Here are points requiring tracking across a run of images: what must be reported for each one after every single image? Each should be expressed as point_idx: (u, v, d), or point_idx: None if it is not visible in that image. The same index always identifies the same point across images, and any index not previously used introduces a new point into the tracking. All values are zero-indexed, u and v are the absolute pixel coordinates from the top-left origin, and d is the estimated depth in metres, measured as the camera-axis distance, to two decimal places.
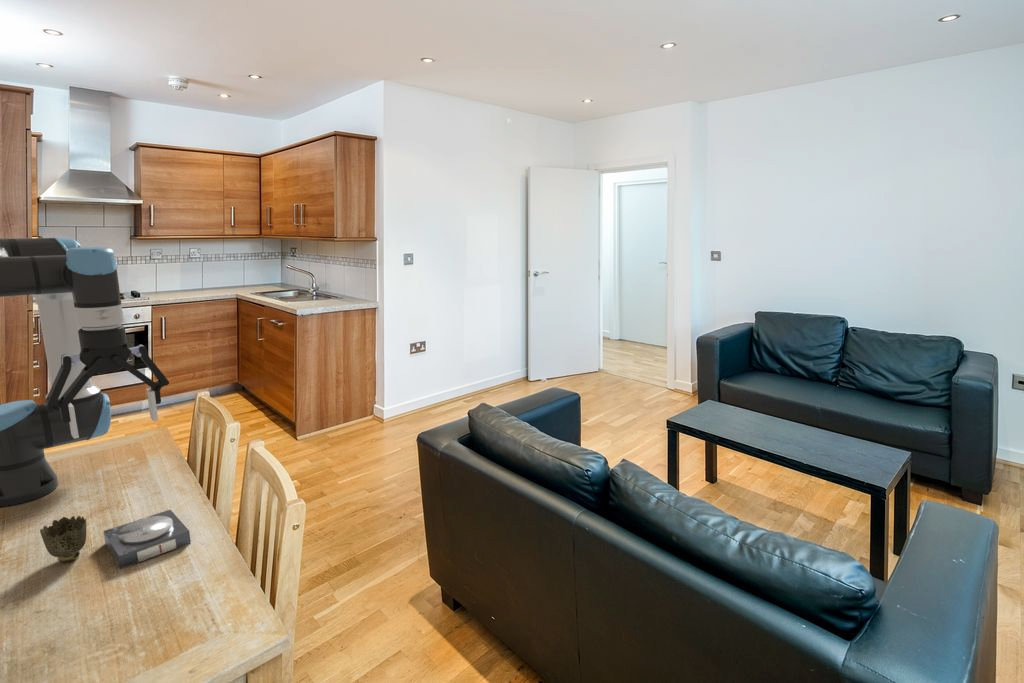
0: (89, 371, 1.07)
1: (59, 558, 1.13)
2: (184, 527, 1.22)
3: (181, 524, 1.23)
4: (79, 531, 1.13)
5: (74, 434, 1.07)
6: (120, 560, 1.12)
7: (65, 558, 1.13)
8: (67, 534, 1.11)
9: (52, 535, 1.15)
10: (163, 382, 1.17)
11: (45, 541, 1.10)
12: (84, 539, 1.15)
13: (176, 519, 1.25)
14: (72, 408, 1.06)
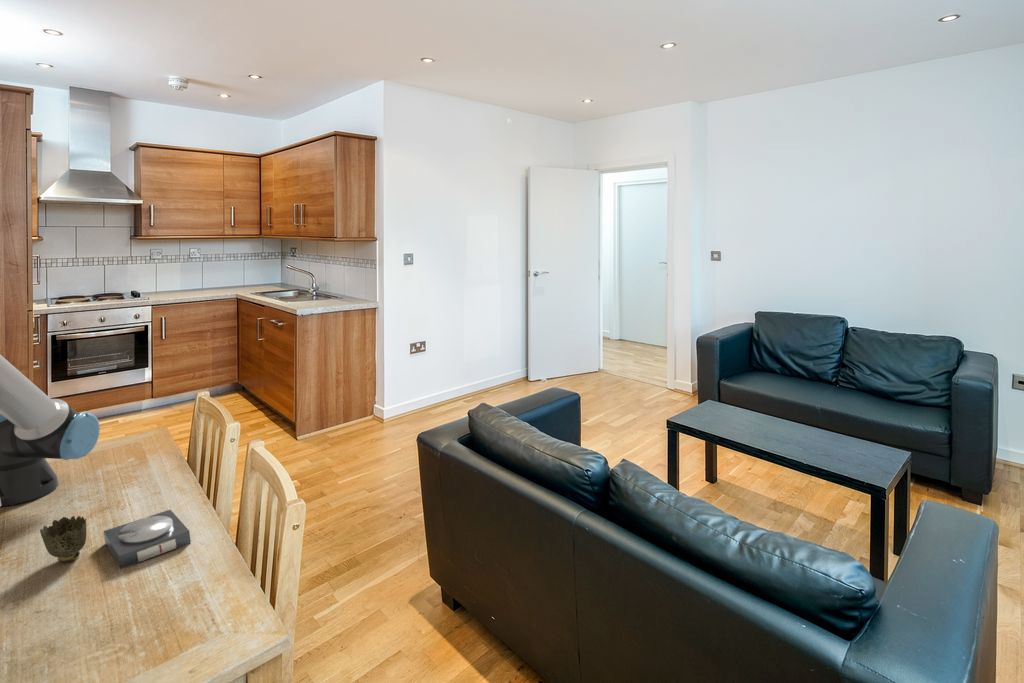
0: None
1: (59, 558, 1.13)
2: (184, 527, 1.22)
3: (181, 524, 1.23)
4: (79, 531, 1.13)
5: None
6: (120, 560, 1.12)
7: (65, 558, 1.13)
8: (67, 534, 1.11)
9: (52, 535, 1.15)
10: None
11: (45, 541, 1.10)
12: (84, 539, 1.15)
13: (176, 519, 1.25)
14: None
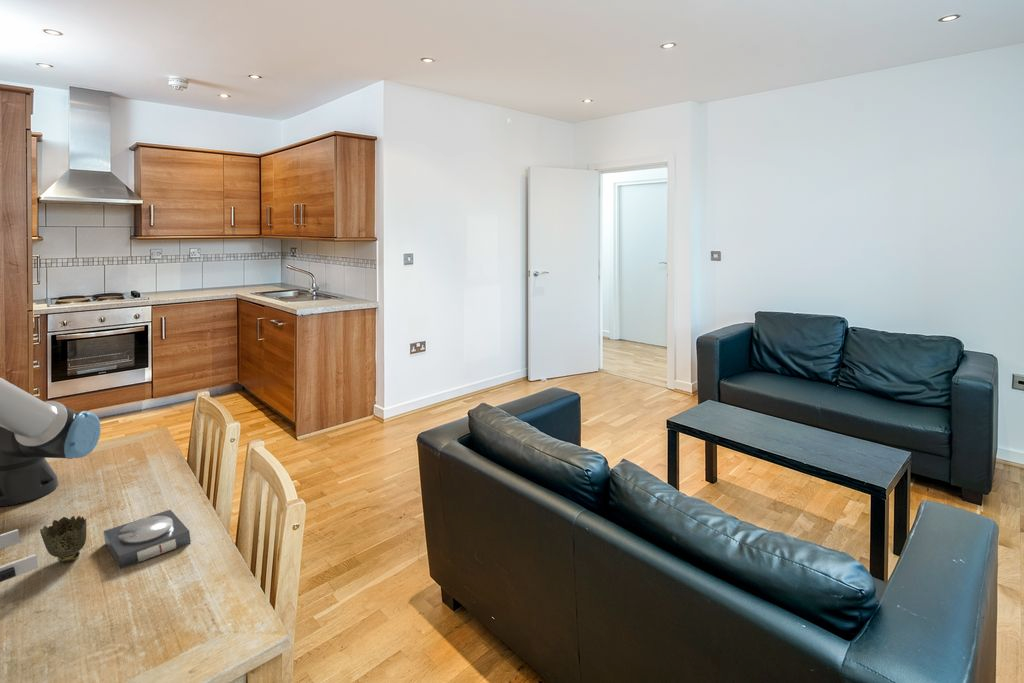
0: None
1: (59, 558, 1.13)
2: (184, 527, 1.22)
3: (181, 524, 1.23)
4: (79, 531, 1.13)
5: None
6: (120, 560, 1.12)
7: (65, 558, 1.13)
8: (67, 534, 1.11)
9: (52, 535, 1.15)
10: None
11: (45, 541, 1.10)
12: (84, 539, 1.15)
13: (176, 519, 1.25)
14: None
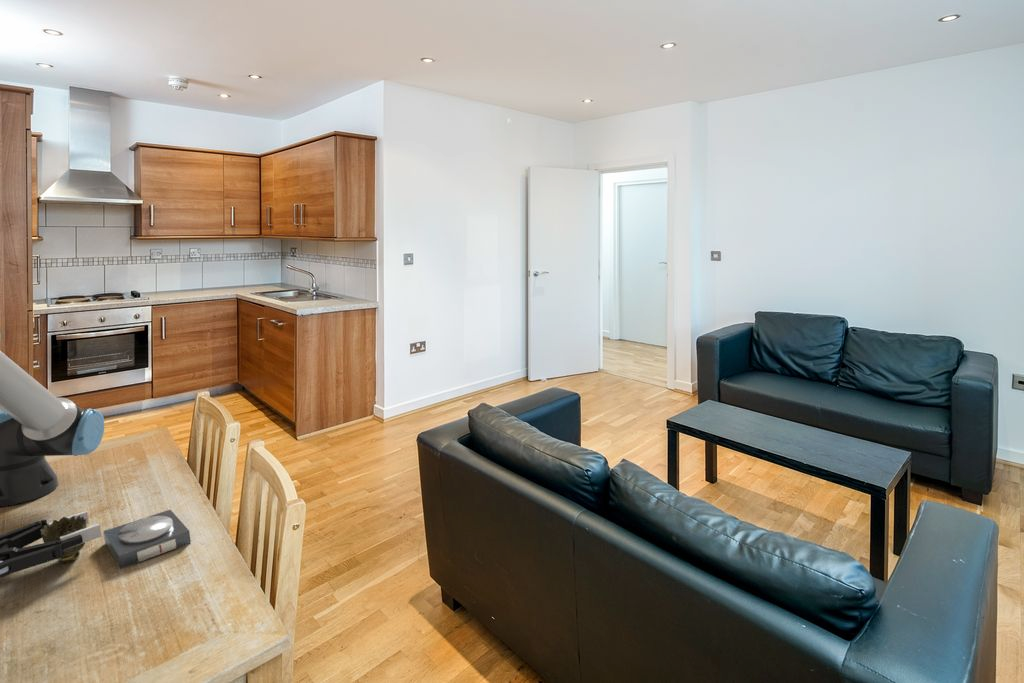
0: None
1: (59, 558, 1.13)
2: (184, 527, 1.22)
3: (181, 524, 1.23)
4: None
5: None
6: (120, 560, 1.12)
7: (65, 558, 1.13)
8: None
9: (52, 535, 1.15)
10: None
11: (45, 541, 1.10)
12: None
13: (176, 519, 1.25)
14: None
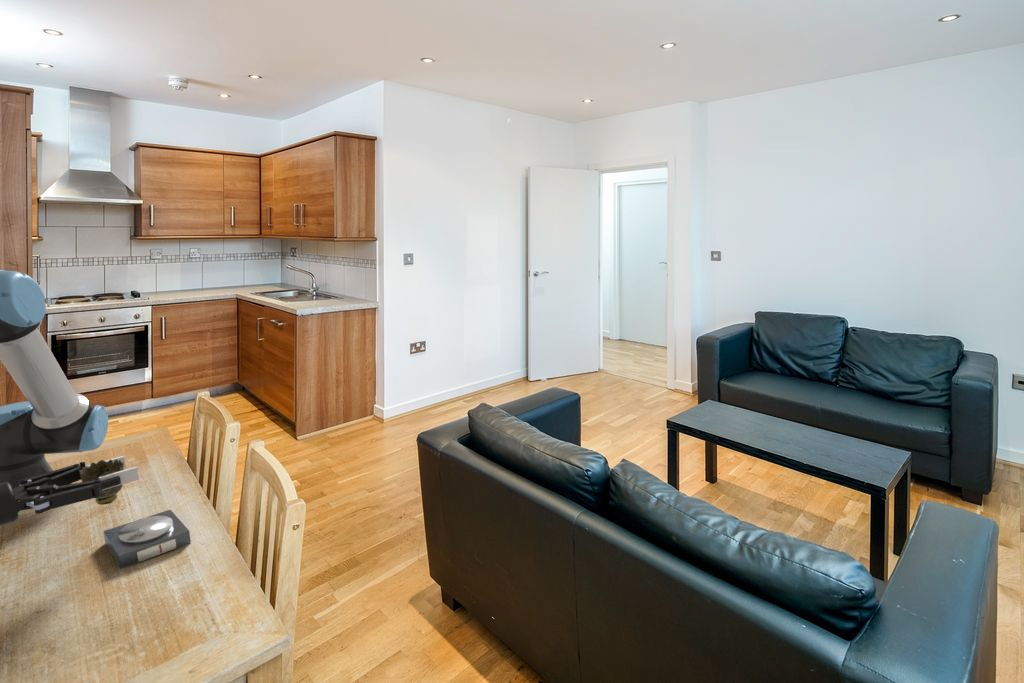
0: None
1: (97, 500, 1.13)
2: (184, 527, 1.22)
3: (181, 524, 1.23)
4: None
5: None
6: (120, 560, 1.12)
7: (103, 500, 1.13)
8: (105, 474, 1.11)
9: (90, 477, 1.15)
10: None
11: (84, 481, 1.10)
12: None
13: (176, 519, 1.25)
14: None
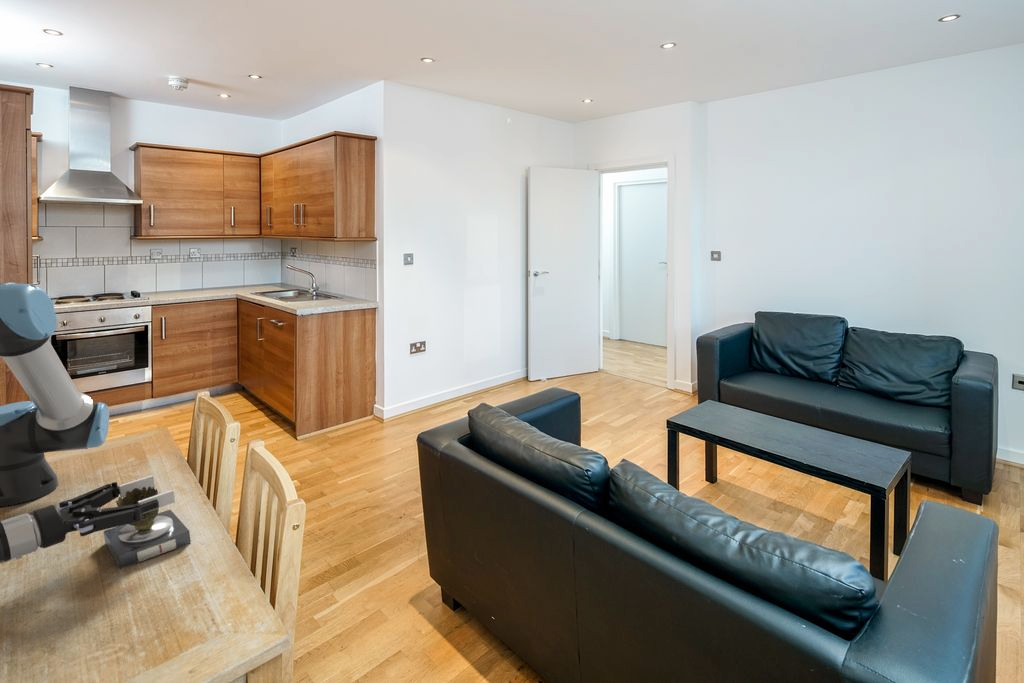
0: None
1: (136, 527, 1.18)
2: (184, 527, 1.22)
3: (181, 524, 1.23)
4: None
5: None
6: (120, 560, 1.12)
7: (142, 526, 1.18)
8: None
9: None
10: None
11: None
12: (157, 508, 1.19)
13: (176, 519, 1.25)
14: None
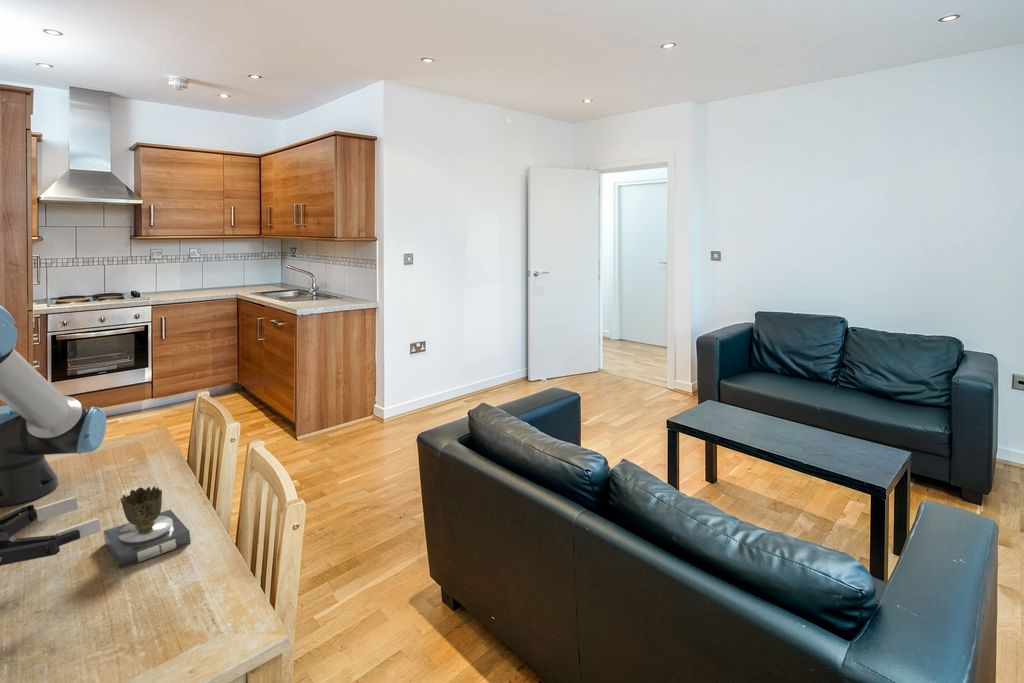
0: None
1: (137, 526, 1.18)
2: (184, 527, 1.22)
3: (181, 524, 1.23)
4: (157, 501, 1.18)
5: None
6: (120, 560, 1.12)
7: (142, 526, 1.18)
8: (146, 502, 1.16)
9: None
10: None
11: (125, 509, 1.16)
12: (160, 509, 1.20)
13: (176, 519, 1.25)
14: None
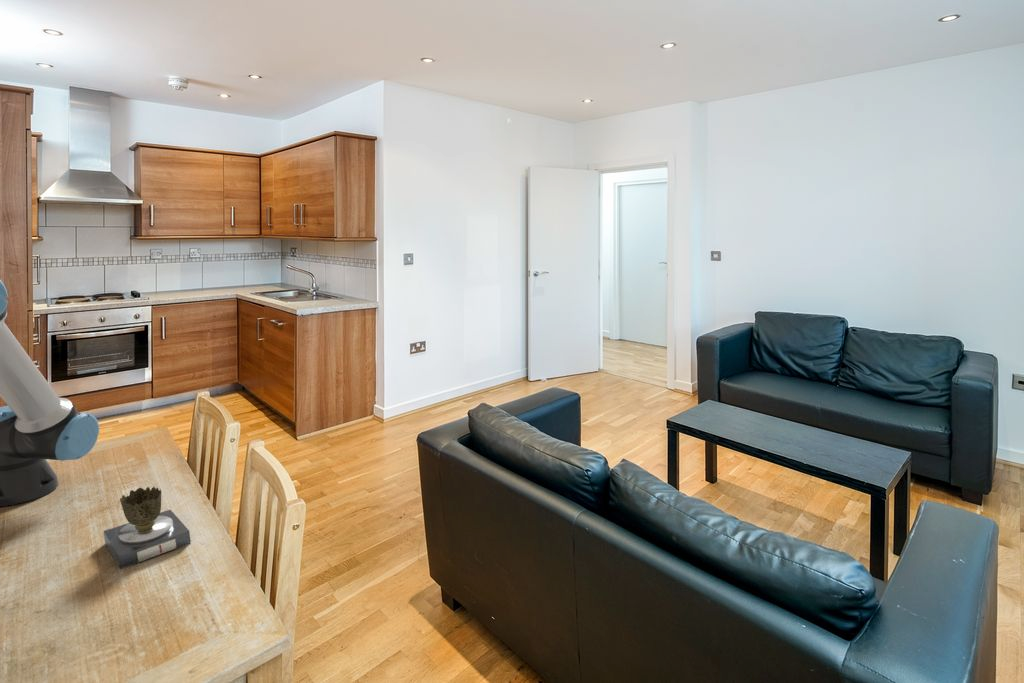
0: None
1: (136, 526, 1.18)
2: (184, 527, 1.22)
3: (181, 524, 1.23)
4: (156, 500, 1.18)
5: None
6: (120, 560, 1.12)
7: (142, 526, 1.18)
8: (146, 502, 1.16)
9: None
10: None
11: (125, 509, 1.16)
12: (159, 509, 1.20)
13: (176, 519, 1.25)
14: None
